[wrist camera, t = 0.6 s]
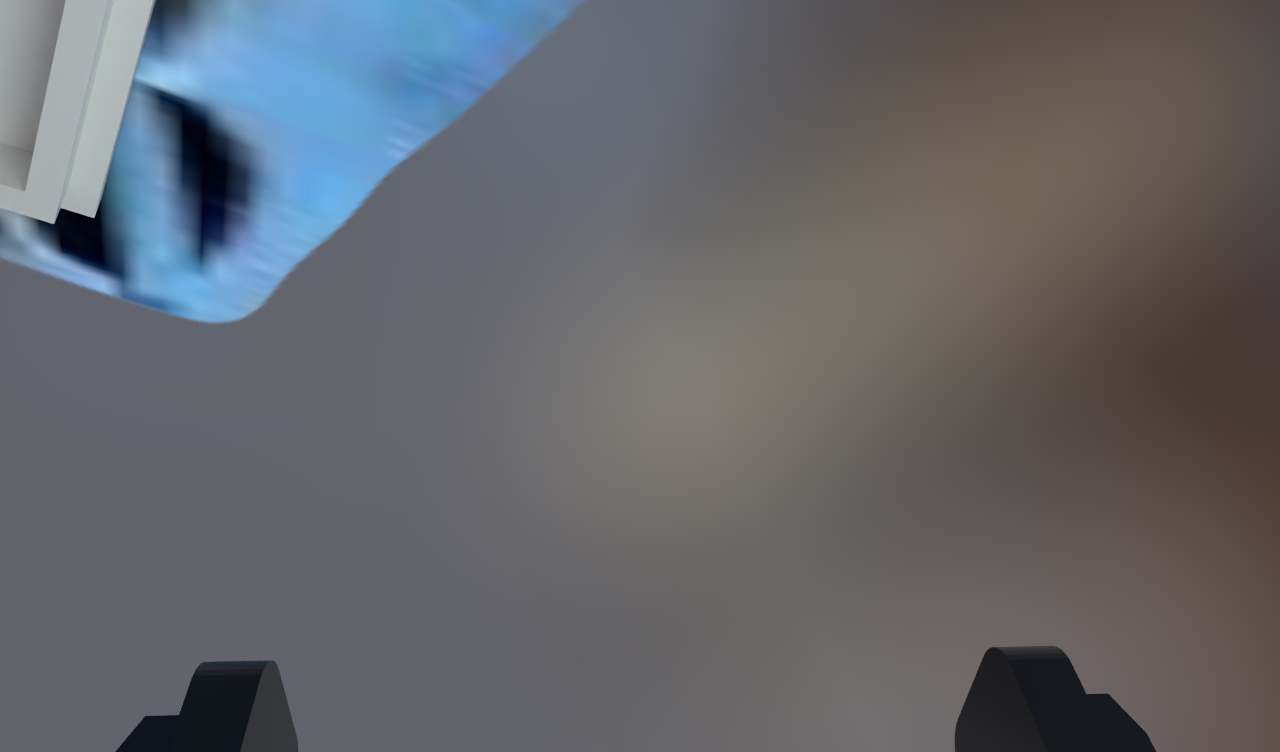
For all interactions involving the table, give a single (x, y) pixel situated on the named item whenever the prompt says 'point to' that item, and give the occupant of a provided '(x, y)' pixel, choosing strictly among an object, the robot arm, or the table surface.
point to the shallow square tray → (64, 99)
